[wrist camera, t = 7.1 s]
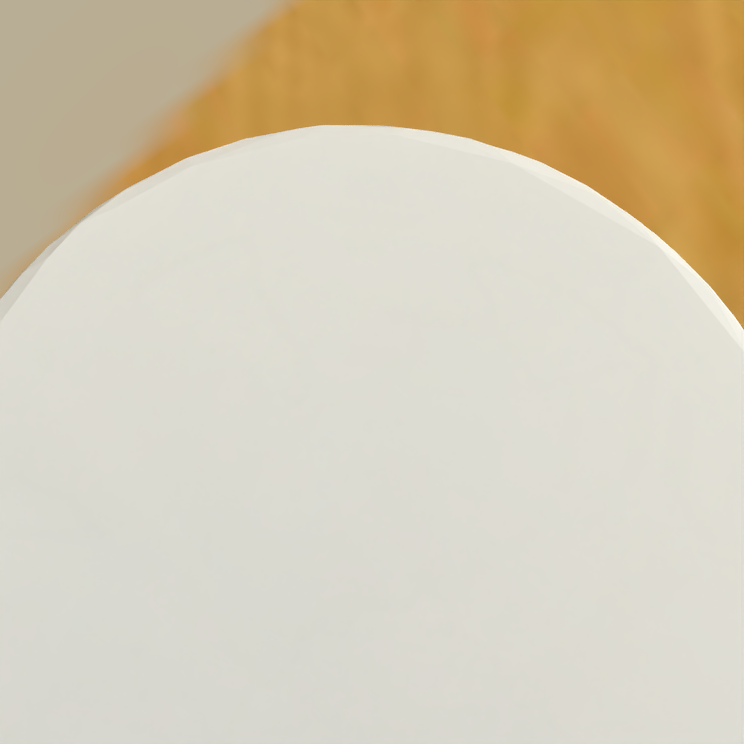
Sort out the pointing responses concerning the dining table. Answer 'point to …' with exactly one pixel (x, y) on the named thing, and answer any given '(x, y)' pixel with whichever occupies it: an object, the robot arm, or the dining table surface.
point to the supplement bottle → (368, 460)
